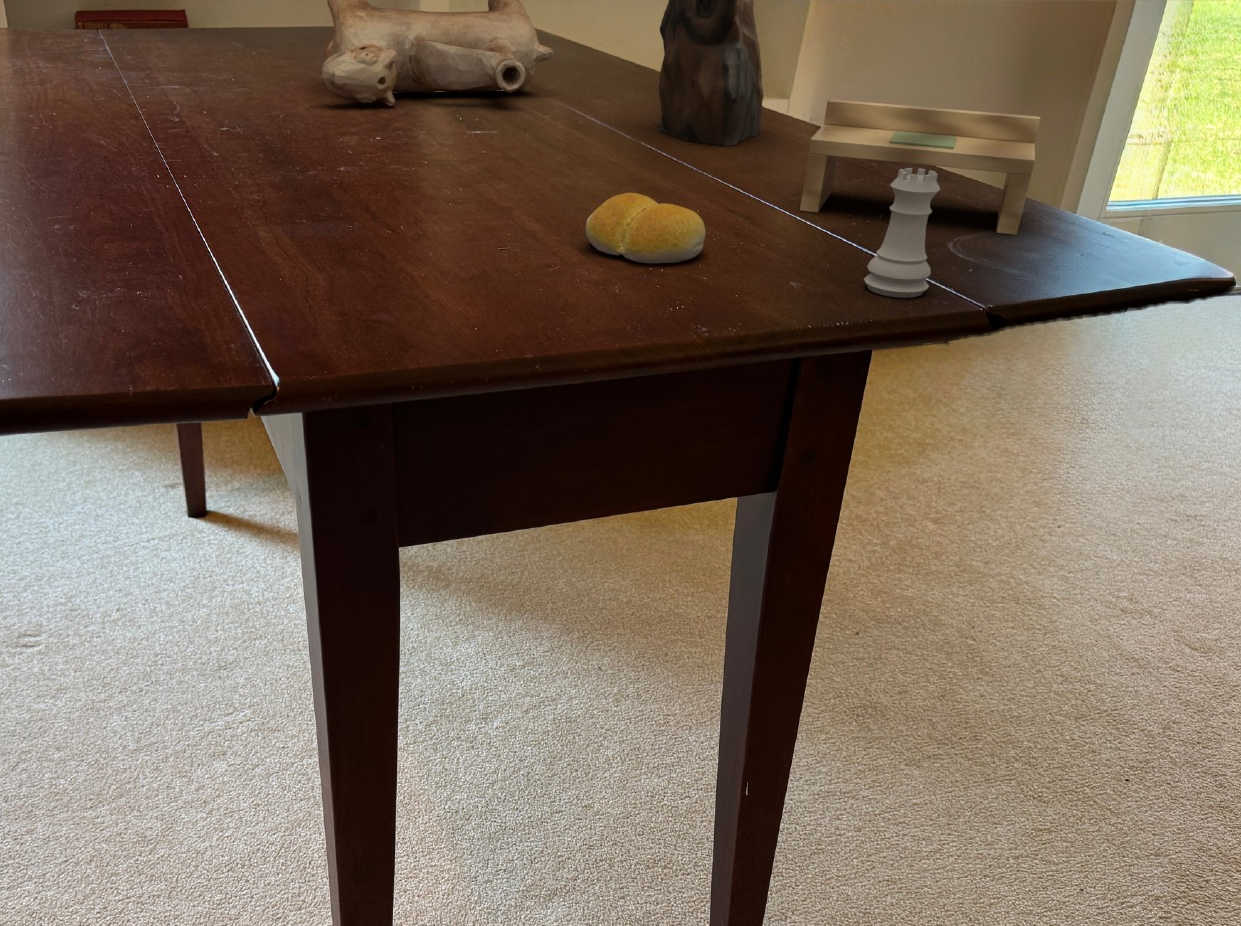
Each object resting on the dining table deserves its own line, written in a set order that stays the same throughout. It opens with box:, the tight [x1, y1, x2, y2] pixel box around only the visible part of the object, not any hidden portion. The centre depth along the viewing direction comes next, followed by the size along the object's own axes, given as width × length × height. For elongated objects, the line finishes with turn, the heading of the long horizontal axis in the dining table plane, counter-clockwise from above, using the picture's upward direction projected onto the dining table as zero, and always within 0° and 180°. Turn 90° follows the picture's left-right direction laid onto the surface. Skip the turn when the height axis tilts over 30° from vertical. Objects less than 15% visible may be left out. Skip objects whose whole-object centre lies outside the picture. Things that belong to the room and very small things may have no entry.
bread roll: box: [585, 192, 707, 264], centre depth 87 cm, size 8×9×4 cm
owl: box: [656, 0, 765, 147], centre depth 125 cm, size 13×13×20 cm
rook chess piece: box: [863, 167, 941, 299], centre depth 79 cm, size 4×4×8 cm
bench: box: [799, 98, 1041, 236], centre depth 99 cm, size 18×9×8 cm, turn 69°
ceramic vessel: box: [320, 0, 556, 104], centre depth 146 cm, size 13×31×25 cm
